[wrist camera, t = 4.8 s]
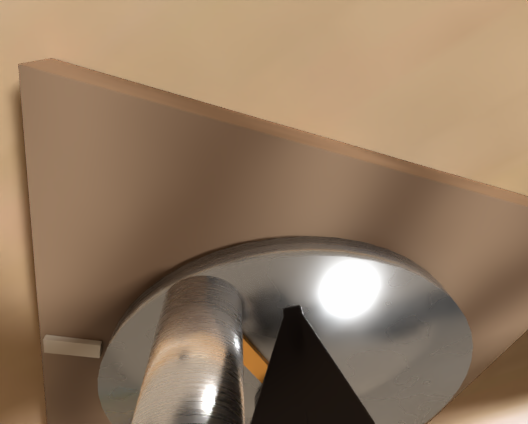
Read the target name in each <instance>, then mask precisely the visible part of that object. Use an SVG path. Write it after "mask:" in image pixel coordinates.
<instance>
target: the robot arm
mask: <svg viewBox="0 0 528 424" xmlns="http://www.w3.org/2000/svg"><path fill="white" fill-rule="evenodd" d="M250 424H375V422H374V420H373V419H372V417H371V416H370V414H369V413H368V411H367V410H366V408H365V407H364V405H363V404H362V402H361V401H360V399H359V398H358V396H357V395H356V393H355V392H354V390H353V389H352V387H351V386H350V384H349V383H348V381H347V380H346V378H345V377H344V375H343V374H342V372H341V371H340V369H339V368H338V366H337V365H336V363H335V361H334V360H333V358H332V357H331V355H330V354H329V352H328V351H327V349H326V348H325V346H324V345H323V343H322V342H321V340H320V339H319V337H318V336H317V334H316V333H315V331H314V330H313V328H312V327H311V325H310V324H309V322H308V321H307V319H306V318H305V316H304V315H303V311H302V307H301V306H300V305H295V306H289V307H285V308H283V318H282V321H281V325H280V328H279V331H278V335H277V338H276V341H275V344H274V348H273V351H272V354H271V357H270V361H269V364H268V367H267V371H266V374H265V377H264V380H263V384H262V387H261V390H260V393H259V397H258V400H257V403H256V407H255V410H254V413H253V416H252V420H251V423H250Z"/></svg>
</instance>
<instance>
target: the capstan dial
mask: <svg viewBox="0 0 528 424" xmlns="http://www.w3.org/2000/svg"><path fill="white" fill-rule="evenodd" d="M295 305H300V306H301V307H302V311H303V315H304V316H305V318H306V319H307V321H308V322H309V324H310V325H311V327H312V328H313V330H314V331H315V333H316V334H317V336H318V337H319V339H320V340H321V342H322V343H323V345H324V346H325V348H326V349H327V351H328V352H329V354H330V355H331V357H332V358H333V360H334V361H335V363H336V365H337V366H338V368H339V369H340V371H341V372H342V374H343V375H344V377H345V378H346V380H347V381H348V383H349V384H350V386H351V387H352V389H353V390H354V392H355V393H356V395H357V396H358V398H359V399H360V401H361V402H362V404H363V405H364V407H365V408H366V410H367V411H368V413H369V414H370V416H371V417H372V419H373V420H374V422H375V424H424V423H426V422H427V421H428V420H430V419H431V418H432V417H433V416H434V415H436V414H437V413H438V412H439V411H440V410H441V409H442V408H443V407H444V406H445V405H446V404H447V403H448V402H449V401H450V400H451V398H452V397H453V396H454V394H455V393H456V392H457V391H458V389H459V388H460V386H461V384H462V382H463V381H464V379H465V377H466V375H467V372H468V369H469V366H470V363H471V359H472V351H473V342H472V333H471V330H470V327H469V325H468V322H467V319H466V317H465V316H464V314H463V313H462V311H461V310H460V308H459V307H458V305H457V304H456V303H455V301H454V300H453V299H452V298H451V296H450V295H449V294H448V293H447V291H446V290H445V289H444V288H443V286H442V285H441V284H440V283H439V282H438V281H437V280H436V279H435V278H434V277H433V276H432V275H431V274H430V273H429V272H428V271H427V270H426V269H424V268H422V267H421V266H419V265H418V264H416V263H415V262H413V261H412V260H410V259H409V258H407V257H404V256H402V255H400V254H398V253H396V252H393V251H391V250H389V249H386V248H383V247H379V246H376V245H372V244H369V243H366V242H361V241H355V240H349V239H343V238H337V237H317V236H299V237H283V238H273V239H267V240H261V241H255V242H249V243H244V244H241V245H237V246H233V247H230V248H226V249H223V250H219V251H216V252H213V253H211V254H209V255H206V256H204V257H201V258H199V259H196V260H194V261H191V262H189V263H187V264H185V265H184V266H182V267H180V268H178V269H176V270H175V271H173V272H171V273H169V274H167V275H165V276H164V277H163V278H161V279H160V280H159V281H157V282H156V283H155V284H153V285H152V286H151V287H149V288H148V289H147V290H145V291H144V292H143V293H142V294H141V295H140V296H139V297H138V298H137V299H136V300H135V301H134V302H133V303H132V304H131V305H130V306H129V308H128V309H127V311H126V312H125V313H124V315H123V316H122V318H121V319H120V320H119V322H118V324H117V326H116V328H115V330H114V333H113V335H112V337H111V339H110V342H109V344H108V347H107V349H106V352H105V354H104V357H103V359H102V362H101V365H100V370H99V375H98V395H99V399H100V402H101V406H102V409H103V410H104V412H105V414H106V416H107V418H108V419H109V421H110V422H111V423H112V424H250V423H251V420H252V416H253V413H254V410H255V407H256V403H257V400H258V397H259V393H260V390H261V387H262V384H263V380H264V377H265V374H266V371H267V367H268V364H269V361H270V357H271V354H272V351H273V348H274V344H275V341H276V338H277V335H278V331H279V328H280V325H281V321H282V318H283V308H285V307H289V306H295Z"/></svg>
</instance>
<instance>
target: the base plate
mask: <svg viewBox="0 0 528 424" xmlns="http://www.w3.org/2000/svg"><path fill="white" fill-rule="evenodd" d="M18 68H19V80H20V92H21V105H22V117H23V129H24V142H25V154H26V166H27V179H28V191H29V203H30V216H31V228H32V240H33V253H34V265H35V277H36V290H37V302H38V314H39V327H40V339H41V352H42V364H43V376H44V389H45V401H46V413H47V424H112V423H111V422H110V421H109V419H108V418H107V416H106V414H105V412H104V410H103V409H102V406H101V402H100V399H99V395H98V375H99V370H100V365H101V362H102V359H103V357H104V354H105V352H106V349H107V347H108V344H109V342H110V339H111V337H112V335H113V333H114V330H115V328H116V326H117V324H118V322H119V320H120V319H121V318H122V316H123V315H124V313H125V312H126V311H127V309H128V308H129V306H130V305H131V304H132V303H133V302H134V301H135V300H136V299H137V298H138V297H139V296H140V295H141V294H142V293H143V292H144V291H145V290H147V289H148V288H149V287H151V286H152V285H153V284H155V283H156V282H157V281H159V280H160V279H161V278H163V277H164V276H165V275H167V274H169V273H171V272H173V271H175V270H176V269H178V268H180V267H182V266H184V265H185V264H187V263H189V262H191V261H194V260H196V259H199V258H201V257H204V256H206V255H209V254H211V253H213V252H216V251H219V250H223V249H226V248H230V247H233V246H237V245H241V244H244V243H249V242H255V241H261V240H267V239H273V238H283V237H299V236H317V237H337V238H343V239H349V240H355V241H361V242H366V243H369V244H372V245H376V246H379V247H383V248H386V249H389V250H391V251H393V252H396V253H398V254H400V255H402V256H404V257H407V258H409V259H410V260H412V261H413V262H415V263H416V264H418V265H419V266H421V267H422V268H424V269H426V270H427V271H428V272H429V273H430V274H431V275H432V276H433V277H434V278H435V279H436V280H437V281H438V282H439V283H440V284H441V285H442V286H443V288H444V289H445V290H446V291H447V293H448V294H449V295H450V296H451V298H452V299H453V300H454V301H455V303H456V304H457V305H458V307H459V308H460V310H461V311H462V313H463V314H464V316H465V317H466V319H467V322H468V325H469V327H470V330H471V333H472V342H473V351H472V359H471V363H470V366H469V369H468V372H467V375H466V377H465V379H464V381H463V382H462V384H461V386H460V388H459V389H458V391H457V392H456V393H455V394H454V396H453V397H452V398H451V400H450V401H449V402H448V403H447V404H446V405H445V406H444V407H443V408H445V407H446V406H447V405H448V404H449V403H450V402H451V401H452V400H453V399H454V398H455V397H456V396H457V395H458V394H460V393H461V392H462V391H463V390H464V389H465V388H466V387H467V386H468V385H469V384H470V383H471V382H472V381H473V380H475V379H476V378H477V377H478V376H479V375H480V374H481V373H482V372H483V371H484V370H485V369H486V368H487V367H488V366H490V365H491V364H492V363H493V362H494V361H495V360H496V359H497V358H498V357H499V356H500V355H501V354H502V353H503V352H505V351H506V350H507V349H508V348H509V347H510V346H511V345H512V344H513V343H514V342H515V341H516V340H517V339H518V338H520V337H521V336H522V335H523V334H524V333H525V332H526V331H527V330H528V196H525V195H522V194H518V193H515V192H511V191H508V190H504V189H501V188H497V187H494V186H491V185H487V184H484V183H480V182H477V181H473V180H470V179H466V178H463V177H460V176H456V175H453V174H449V173H446V172H442V171H439V170H435V169H432V168H428V167H425V166H422V165H418V164H415V163H411V162H408V161H404V160H401V159H397V158H394V157H391V156H387V155H384V154H380V153H377V152H373V151H370V150H366V149H363V148H360V147H356V146H353V145H349V144H346V143H342V142H339V141H335V140H332V139H328V138H325V137H322V136H318V135H315V134H311V133H308V132H304V131H301V130H297V129H294V128H291V127H287V126H284V125H280V124H277V123H273V122H270V121H266V120H263V119H259V118H256V117H253V116H249V115H246V114H242V113H239V112H235V111H232V110H228V109H225V108H222V107H218V106H215V105H211V104H208V103H204V102H201V101H197V100H194V99H191V98H187V97H184V96H180V95H177V94H173V93H170V92H166V91H163V90H159V89H156V88H153V87H149V86H146V85H142V84H139V83H135V82H132V81H128V80H125V79H122V78H118V77H115V76H111V75H108V74H104V73H101V72H97V71H94V70H90V69H87V68H84V67H80V66H77V65H73V64H70V63H66V62H63V61H59V60H56V59H53V58H50V59H44V60H39V61H33V62H27V63H21V64H18ZM443 408H442V409H443ZM442 409H441V410H442ZM441 410H440V411H441ZM440 411H439V412H440ZM439 412H438V413H439ZM438 413H437V414H438ZM437 414H436V415H437ZM436 415H434V416H433V417H432V418H431V419H430V420H428V421H427V422H426V423H424V424H427V423H428V422H430V421H431V420H432V419H433V418H434V417H435V416H436Z"/></svg>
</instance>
